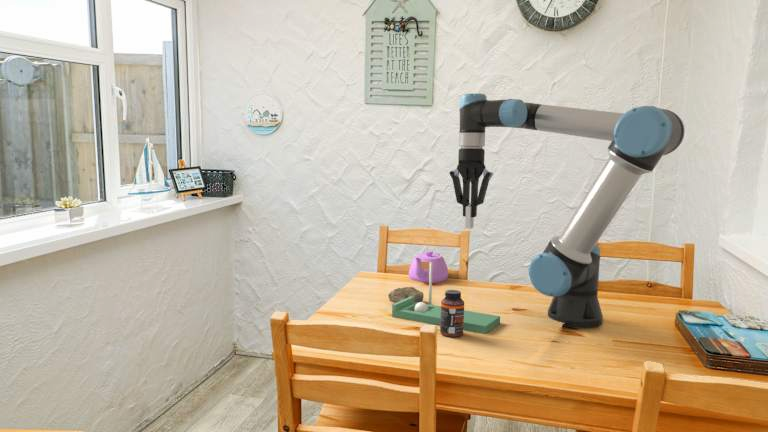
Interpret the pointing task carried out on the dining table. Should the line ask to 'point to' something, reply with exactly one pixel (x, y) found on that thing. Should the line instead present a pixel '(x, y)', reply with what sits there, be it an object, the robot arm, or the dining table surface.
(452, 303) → the supplement bottle
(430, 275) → the pin
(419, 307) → the ball
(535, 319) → the dining table surface
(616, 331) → the dining table surface
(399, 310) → the green
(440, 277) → the teapot
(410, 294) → the rock
